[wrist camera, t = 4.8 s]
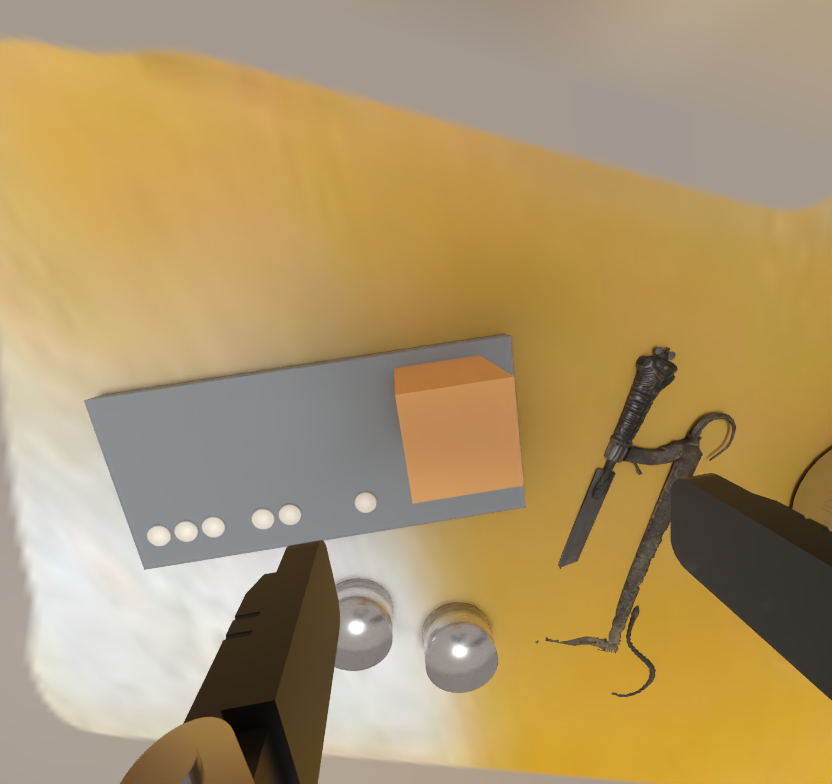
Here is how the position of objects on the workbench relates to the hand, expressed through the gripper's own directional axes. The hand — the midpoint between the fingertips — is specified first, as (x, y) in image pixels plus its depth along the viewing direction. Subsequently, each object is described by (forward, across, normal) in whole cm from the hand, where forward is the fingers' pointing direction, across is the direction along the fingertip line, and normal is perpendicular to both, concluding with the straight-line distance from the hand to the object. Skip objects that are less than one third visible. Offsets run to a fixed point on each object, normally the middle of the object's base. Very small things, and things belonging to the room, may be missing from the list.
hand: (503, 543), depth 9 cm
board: (+14, +7, +2) cm, 15 cm away
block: (+12, 0, 0) cm, 12 cm away
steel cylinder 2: (+14, +1, +16) cm, 21 cm away
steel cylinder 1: (+14, +7, +13) cm, 20 cm away
